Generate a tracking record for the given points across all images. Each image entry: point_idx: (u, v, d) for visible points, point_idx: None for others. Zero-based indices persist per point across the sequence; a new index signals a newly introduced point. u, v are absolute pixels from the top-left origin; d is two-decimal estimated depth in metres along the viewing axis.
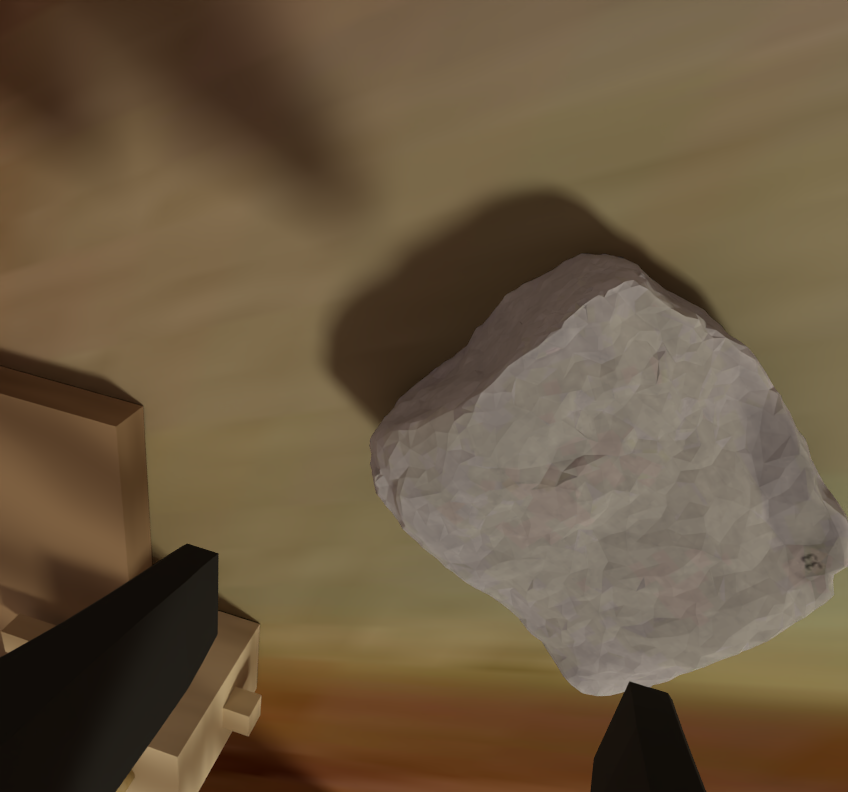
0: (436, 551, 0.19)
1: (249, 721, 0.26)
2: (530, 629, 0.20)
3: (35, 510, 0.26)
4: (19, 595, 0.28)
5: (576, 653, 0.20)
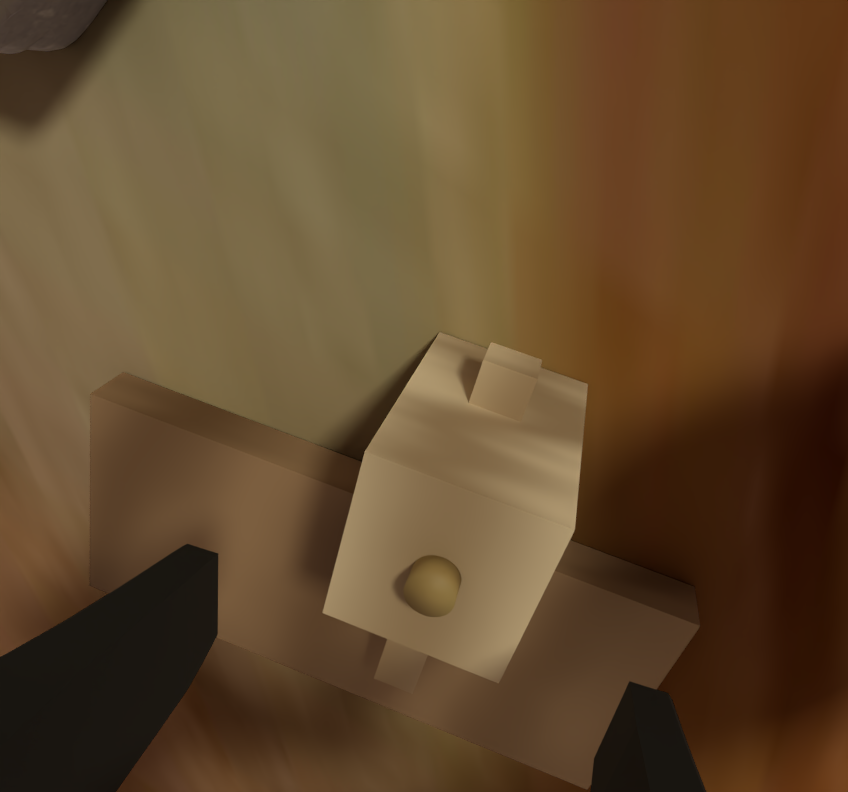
0: None
1: (498, 364, 0.14)
2: None
3: (232, 550, 0.21)
4: (374, 642, 0.21)
5: None
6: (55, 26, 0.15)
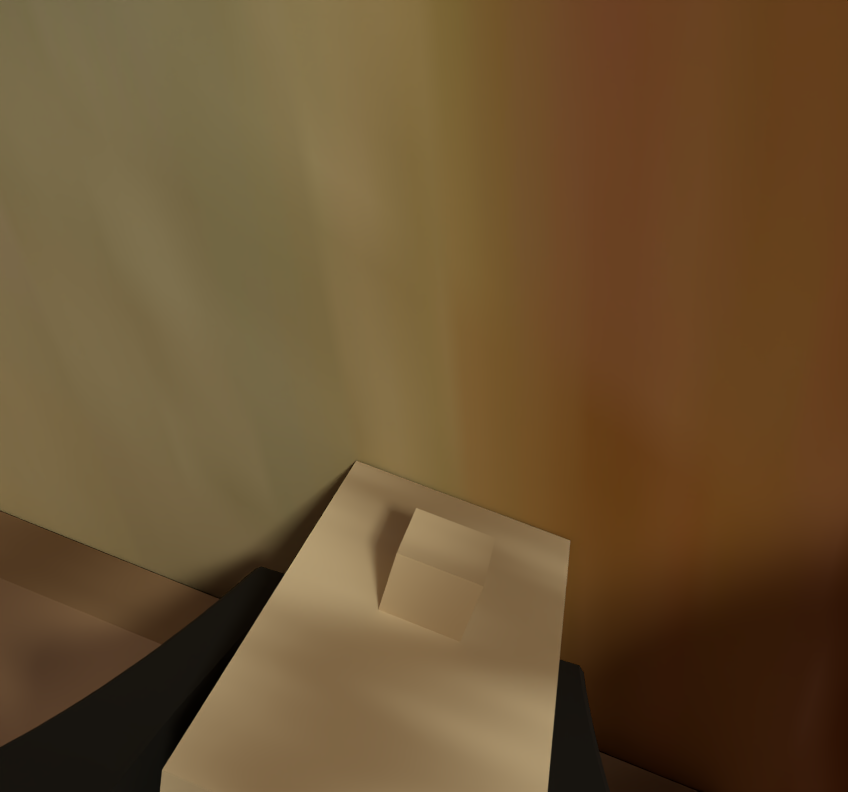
0: None
1: (422, 560, 0.09)
2: None
3: None
4: None
5: None
6: None
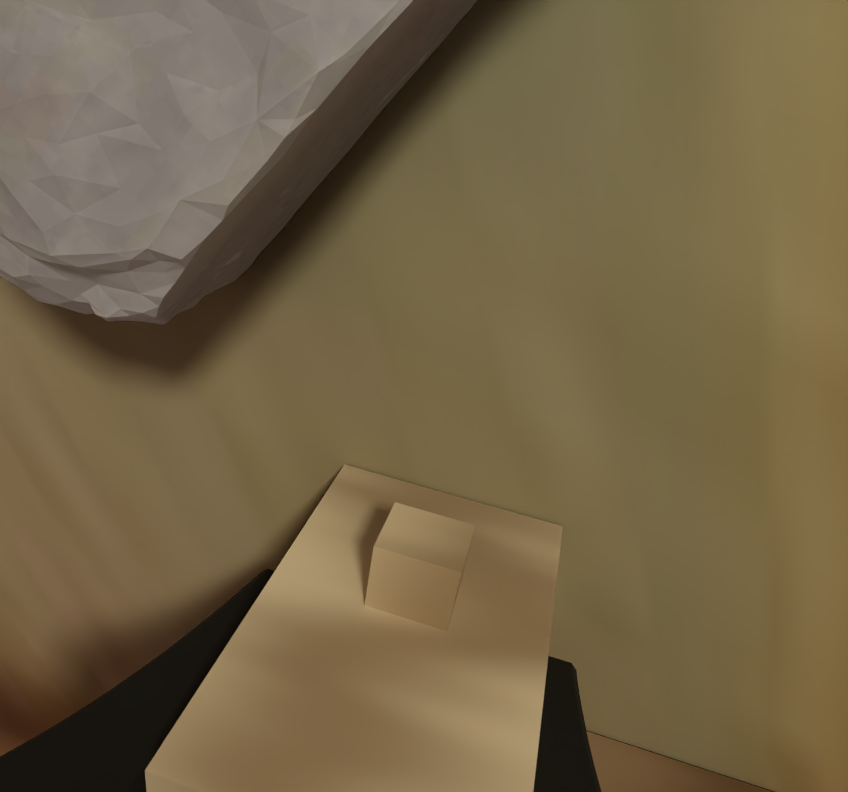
0: (215, 161, 0.06)
1: (399, 551, 0.09)
2: None
3: None
4: None
5: None
6: (236, 266, 0.10)
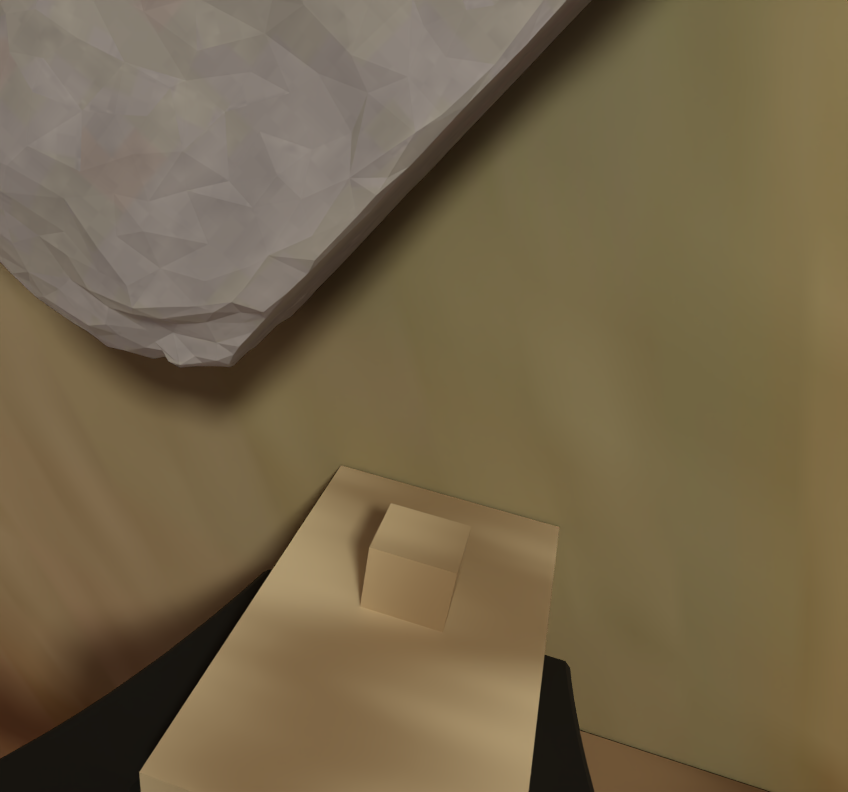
0: (304, 219, 0.06)
1: (394, 552, 0.09)
2: None
3: None
4: None
5: None
6: (297, 305, 0.10)
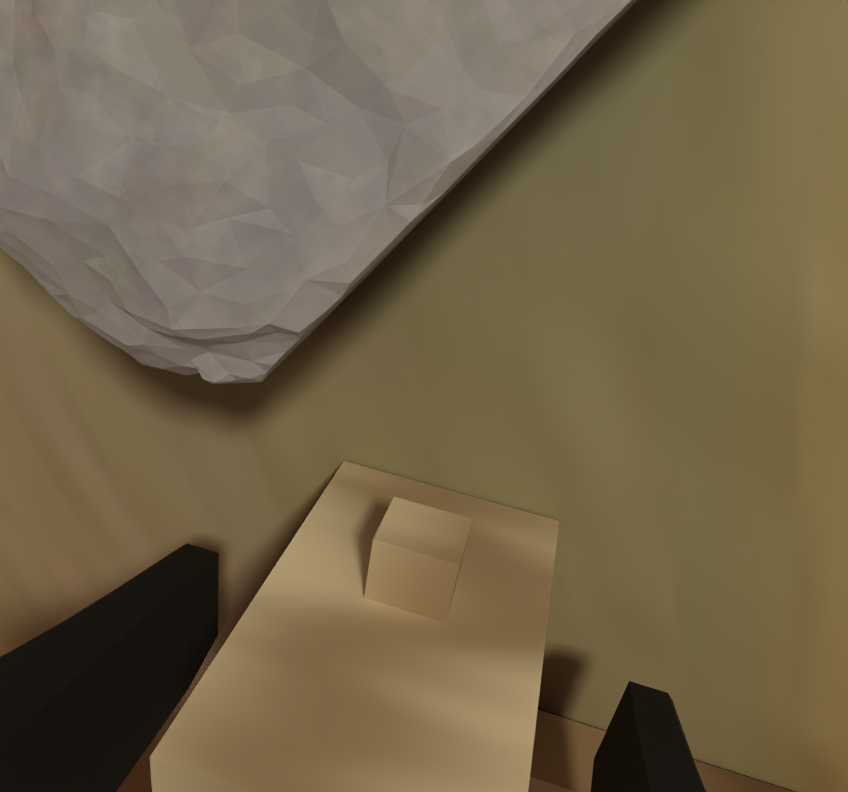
0: (342, 244, 0.07)
1: (398, 544, 0.09)
2: None
3: None
4: None
5: None
6: None
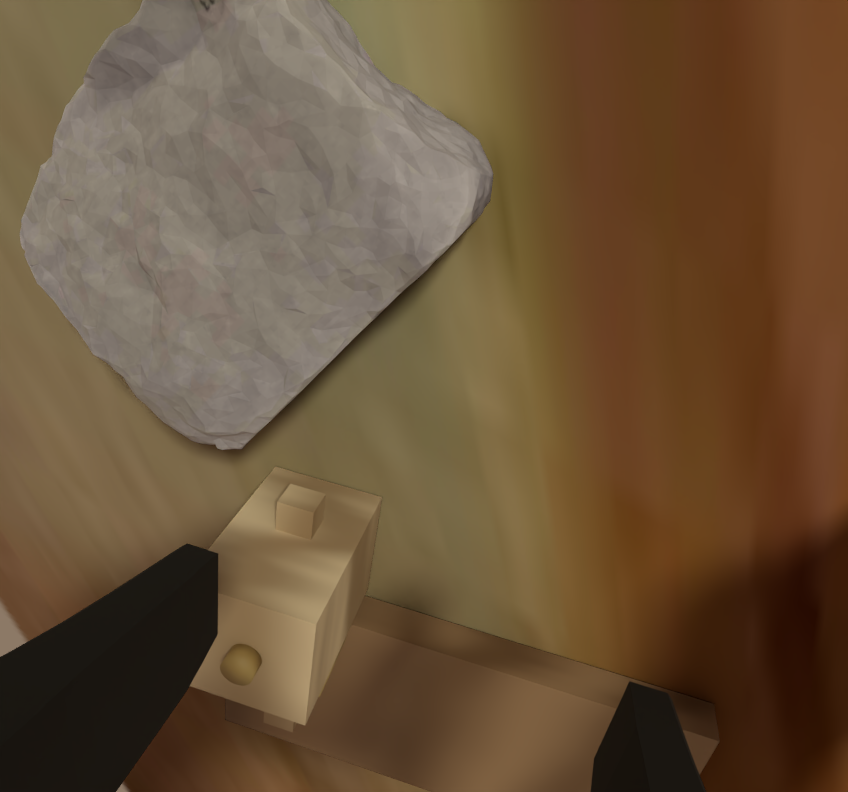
0: (268, 404, 0.18)
1: (288, 504, 0.21)
2: (377, 307, 0.17)
3: (342, 692, 0.26)
4: (460, 758, 0.26)
5: (385, 256, 0.16)
6: None
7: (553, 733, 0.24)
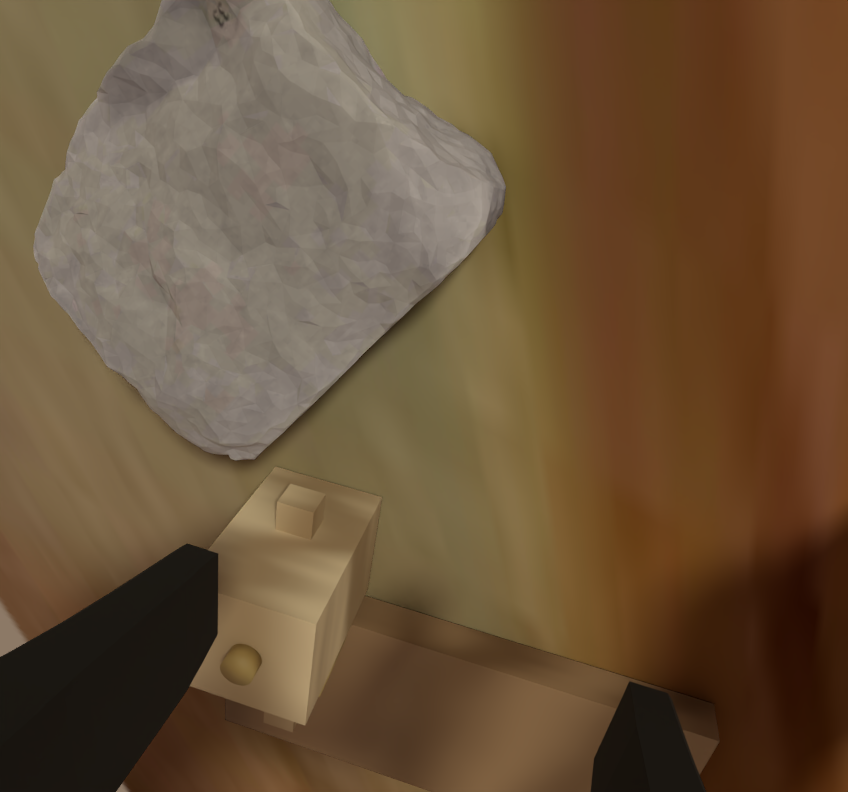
0: (282, 416, 0.19)
1: (288, 504, 0.21)
2: (391, 319, 0.17)
3: (342, 692, 0.26)
4: (460, 758, 0.26)
5: (399, 269, 0.16)
6: None
7: (553, 733, 0.24)
